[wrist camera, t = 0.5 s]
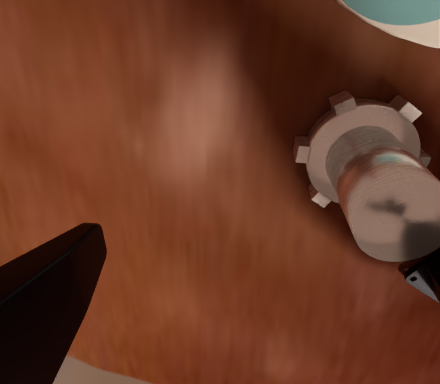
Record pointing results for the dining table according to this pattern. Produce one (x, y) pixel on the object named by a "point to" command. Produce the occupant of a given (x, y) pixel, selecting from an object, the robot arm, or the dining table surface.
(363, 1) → the carrier plate
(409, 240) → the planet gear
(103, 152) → the dining table surface
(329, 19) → the dining table surface
